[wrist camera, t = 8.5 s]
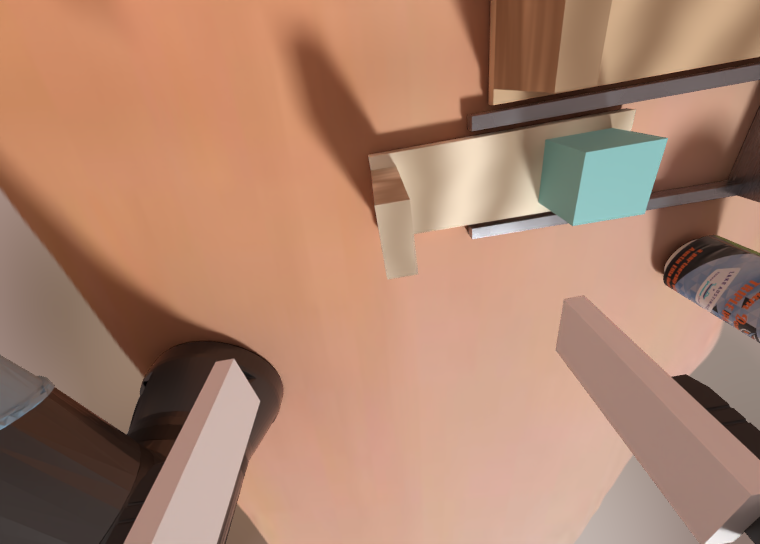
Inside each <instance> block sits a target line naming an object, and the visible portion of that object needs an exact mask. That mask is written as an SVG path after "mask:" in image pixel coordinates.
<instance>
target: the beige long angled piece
mask: <svg viewBox="0 0 760 544" xmlns="http://www.w3.org/2000/svg"><path fill="white" fill-rule="evenodd" d="M635 112H636V109H627V108H626V109H621V110H615V111H609V112H604V113H598V114H593V115H587V116H581V117H576V118H570V119H565V120H559V121H553V122H548V123H542V124H537V125H531V126H525V127H520V128H514V129H509V130H503V131H497V132H492V133H486V134H481V135H475V136H470V137H464V138H458V139H453V140H447V141H442V142H436V143H430V144H425V145H419V146H414V147H408V148H402V149H397V150H391V151H386V152H380V153H374V154H369V155H368V158H369V164H370V169H371V178H372V188H373V197H374V206H375V212H376V217H377V223H378V229H379V234H380V240H381V246H382V252H383V257H384V263H385V269H386V274H387V279H393V278H399V277H405V276H412V275H418V268H417V259H416V250H415V241H414V234H417V233H423V232H429V231H435V230H441V229H447V228H453V227H459V226H465V225H471V224H477V223H483V222H489V221H495V220H501V219H507V218H513V217H519V216H525V215H531V214H537V213H543V212H549V211H550V210H549V209H547V208H546V207H544V206H543V205H541V204H540V203H538V200H539V191H540V183H541V174H542V165H543V156H544V148H545V140H546V139H552V138H558V137H563V136H569V135H575V134H580V133H586V132H592V131H597V130H603V129H609V128H616V129H621V130H627V131H631V129H632V125H633V121H634V116H635Z"/></svg>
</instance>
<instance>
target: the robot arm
mask: <svg viewBox="0 0 760 544" xmlns="http://www.w3.org/2000/svg"><path fill="white" fill-rule="evenodd" d="M556 351H557V352H558V354H559V355H560V356H561V358H562V359H563V360H564V362H565V363H566V364H567V366H568V367H569V369H570V370H571V371H572V373H573V374H574V375H575V377H576V378H577V379H578V381H579V382H580V383H581V385H582V386H583V387H584V389H585V390H586V391H587V393H588V394H589V395H590V397H591V398H592V399H593V401H594V402H595V403H596V405H597V406H598V408H599V409H600V410H601V412H602V413H603V414H604V416H605V417H606V418H607V420H608V421H609V422H610V424H611V425H612V426H613V428H614V429H615V430H616V432H617V433H618V434H619V436H620V437H621V438H622V440H623V441H624V442H625V444H626V445H627V447H628V448H629V449H630V451H631V452H632V453H633V455H634V456H635V457H636V458H637V460H638V461H639V463H640V464H641V465H642V467H643V468H644V469H645V471H646V472H647V473H648V475H649V476H650V477H651V479H652V480H653V481H654V483H655V484H656V486H657V487H658V488H659V490H660V491H661V492H662V494H663V495H664V496H665V498H666V499H667V500H668V502H669V503H670V504H671V506H672V507H673V508H674V510H675V511H676V512H677V514H678V515H679V516H680V518H681V519H682V520H683V522H684V523H685V524H686V526H687V527H688V529H689V530H690V531H691V533H692V534H693V535H694V537H695V538H696V539H697V541H698V542H699V543H700V544H723V543H729V542H734V541H735V540H736V539H737V538H738V537H739V536H741V535H742V534H743V533H744V532H745V533H746V534H747V535H748V536H749V538H750V539H751V540H752V541H753V542H754V543H755V544H760V431H759V430H758V429H757V428H756V427H755V426H753V425H752V424H751V423H748V422H747V421H746V419H745V418H744V417H743V416H742V415H741V414H740V413H738V412H737V411H736V410H735V409H734V408H731V407H730V406H729V404H728V403H727V402H725V400H723V399H722V398H721V397H720V396H719V395H718V394H716V393H715V392H714V391H713V390H712V389H710V388H709V387H708V386H706V385H704V384H702V383H700V382H699V381H697V380H695V379H693V378H691V377H690V376H688V375H686V374H685V375H679V376H674V377H671V376H670V375H668V374H667V373H666V372H665V371H664V370H663V369H662V368H661V367H660V366H659V365H658V364H657V363H656V362H655V361H653V360H652V359H651V358H650V357H649V356H648V355H647V354H646V353H645V352H644V351H643V350H642V349H641V348H640V347H639V346H637V345H636V344H635V343H634V342H633V341H632V340H631V339H630V338H629V337H628V336H627V335H626V334H625V333H624V332H623V331H621V330H620V329H619V328H618V327H617V326H616V325H615V324H614V323H613V322H612V321H611V320H610V319H609V318H608V317H607V316H605V315H604V314H603V313H602V312H601V311H600V310H599V309H598V308H597V307H596V306H595V305H594V304H593V303H592V302H590V301H589V300H588V299H587V298H586V297H585V296H578V297H573V298H567V299H564V302H563V308H562V314H561V320H560V326H559V332H558V338H557V344H556ZM282 397H283V384H282V381H281V379H280V377H279V375H278V373H277V372H276V371H275V369H274V368H273V367H272V366H271V365H270V364H269V363H267V362H266V361H265V360H264V359H262V358H261V357H259V356H258V355H256V354H254V353H252V352H250V351H248V350H245V349H243V348H240V347H237V346H234V345H230V344H225V343H219V342H207V341H203V342H191V343H185V344H181V345H178V346H175V347H173V348H171V349H169V350H167V351H166V352H164V353H163V354H162V355H160V356H159V357H158V359H157V360H156V361H155V363H154V364H153V365H152V367H151V368H150V369H149V371H148V372H147V374H146V375H145V377H144V379H143V382H142V385H141V388H140V397H139V399H138V402H137V404H136V408H135V410H134V414H133V417H132V421H131V424H130V428H129V431H128V433H127V435H126V434H124V433H123V432H121V431H120V430H118V429H117V428H115V427H114V426H112V425H111V424H109V423H108V422H106V421H105V420H103V419H102V418H100V417H99V416H97V415H96V414H94V413H93V412H91V411H90V410H88V409H87V408H85V407H84V406H82V405H81V404H79V403H78V402H76V401H75V400H73V399H72V398H70V397H69V396H67V395H66V394H64V393H63V392H61V391H60V390H58V389H57V388H55V385H54V384H53V383H52V382H51V381H50V380H49V379H48V378H46V377H42V376H35V375H34V374H32V373H30V372H29V371H27V370H25V369H23V368H21V367H20V366H18V365H16V364H15V363H13V362H11V361H10V360H8V359H6V358H4V357H3V356H1V355H0V544H226V540H227V536H228V533H229V529H230V526H231V522H232V519H233V515H234V512H235V508H236V504H237V501H238V497H239V494H240V490H241V487H242V483H243V479H244V476H245V472H246V469H247V466H248V463H249V460H250V458H251V456H252V455H253V453H254V452H255V450H256V448H257V447H258V445H259V444H260V442H261V441H262V439H263V437H264V436H265V434H266V433H267V431H268V429H269V427H270V426H271V424H272V423H273V422H274V421H275V419H276V417H277V415H278V412H279V409H280V405H281V401H282Z"/></svg>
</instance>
